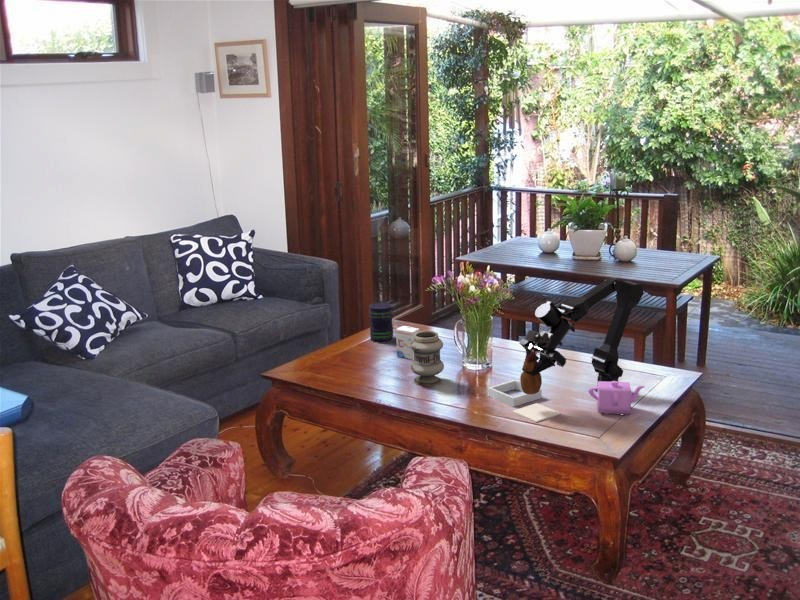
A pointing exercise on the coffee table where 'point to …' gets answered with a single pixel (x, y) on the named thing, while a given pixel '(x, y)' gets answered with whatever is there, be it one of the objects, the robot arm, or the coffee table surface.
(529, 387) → the wooden figurine
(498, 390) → the white square tray
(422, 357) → the apothecary jar
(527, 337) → the robot arm
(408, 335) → the ink box
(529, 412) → the tile
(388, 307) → the storage jar
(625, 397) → the teapot
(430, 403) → the coffee table surface
